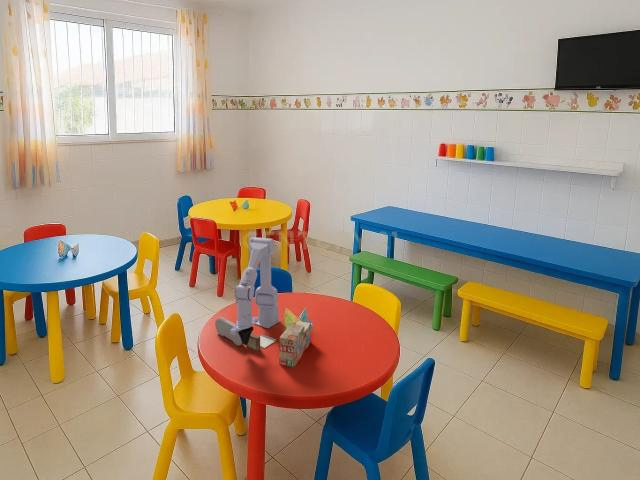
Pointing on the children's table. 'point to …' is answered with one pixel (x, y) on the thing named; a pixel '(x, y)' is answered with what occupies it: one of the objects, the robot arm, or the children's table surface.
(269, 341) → the mat
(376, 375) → the children's table surface
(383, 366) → the children's table surface
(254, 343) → the walnut tile
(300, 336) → the stack of blocks
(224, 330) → the game controller
